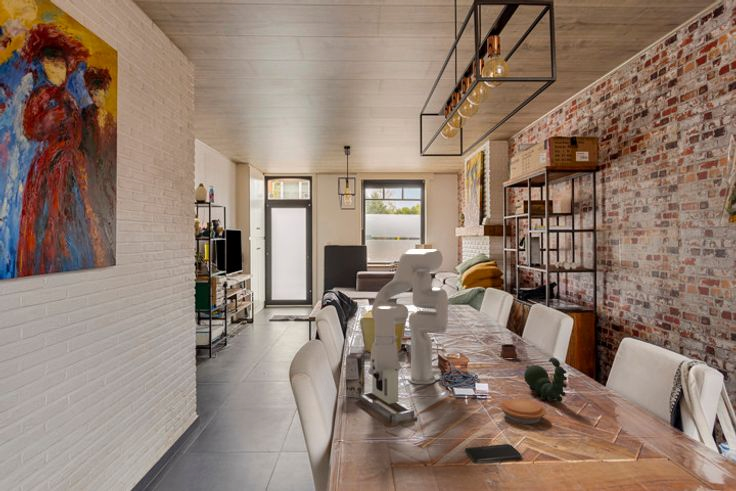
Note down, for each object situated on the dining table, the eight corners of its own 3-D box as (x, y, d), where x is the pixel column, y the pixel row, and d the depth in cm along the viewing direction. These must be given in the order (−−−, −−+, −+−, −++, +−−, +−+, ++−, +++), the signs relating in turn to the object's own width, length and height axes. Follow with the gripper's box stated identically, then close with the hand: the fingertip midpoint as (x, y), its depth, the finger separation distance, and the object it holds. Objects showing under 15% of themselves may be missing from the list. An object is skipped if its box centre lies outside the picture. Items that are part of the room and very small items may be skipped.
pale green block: (381, 391, 162) (381, 363, 162) (398, 401, 152) (398, 371, 152) (371, 393, 160) (371, 364, 160) (388, 404, 149) (388, 373, 149)
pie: (490, 413, 154) (490, 399, 154) (523, 406, 160) (523, 393, 160) (521, 430, 140) (521, 415, 140) (555, 422, 146) (555, 408, 146)
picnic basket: (366, 341, 268) (366, 294, 268) (407, 342, 265) (407, 295, 265) (359, 353, 239) (359, 300, 239) (404, 354, 236) (404, 301, 236)
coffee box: (360, 398, 170) (360, 358, 170) (345, 397, 171) (345, 357, 171) (365, 390, 179) (365, 352, 178) (350, 389, 180) (350, 351, 180)
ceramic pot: (532, 358, 228) (532, 345, 228) (515, 365, 216) (514, 351, 216) (502, 352, 241) (502, 340, 241) (485, 358, 230) (484, 345, 230)
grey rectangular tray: (382, 398, 169) (382, 389, 169) (417, 419, 148) (417, 409, 148) (355, 403, 164) (355, 394, 164) (388, 427, 143) (388, 416, 143)
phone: (523, 456, 121) (474, 461, 119) (523, 460, 121) (474, 465, 119) (509, 443, 129) (463, 447, 126) (509, 447, 129) (463, 451, 126)
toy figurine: (571, 410, 160) (535, 383, 185) (574, 362, 158) (537, 341, 183) (549, 412, 159) (515, 384, 183) (551, 364, 157) (517, 342, 182)
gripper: (398, 335, 163) (398, 382, 163) (360, 340, 155) (360, 389, 155) (409, 339, 157) (409, 388, 157) (370, 344, 149) (370, 396, 149)
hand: (384, 388), depth 156 cm, fingers closed on pale green block, 4 cm apart
